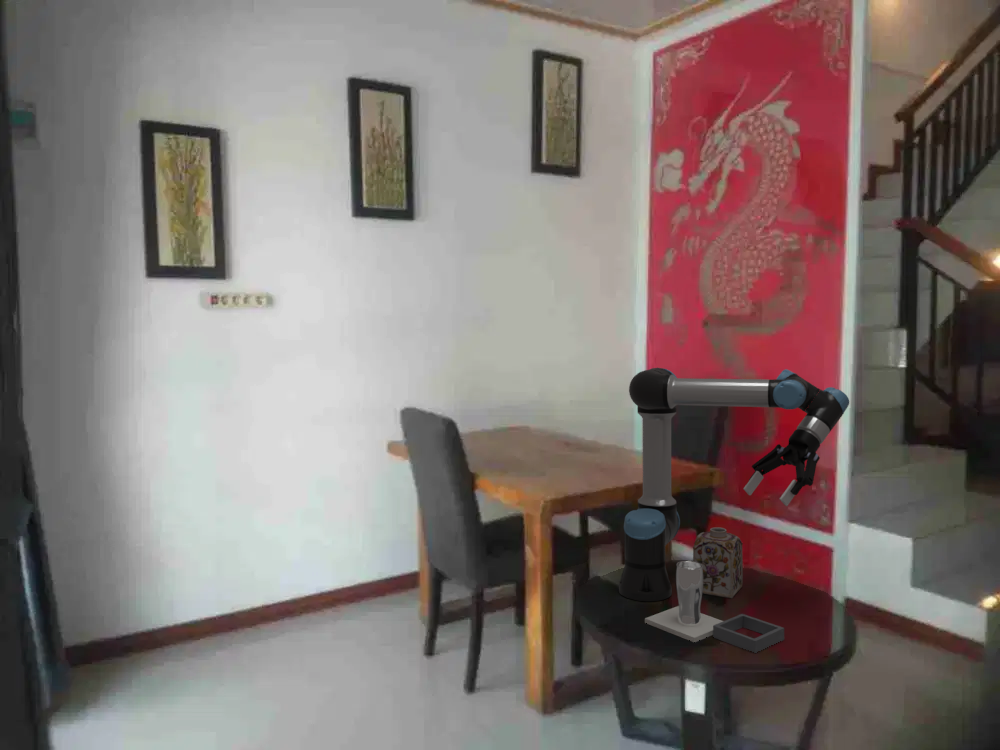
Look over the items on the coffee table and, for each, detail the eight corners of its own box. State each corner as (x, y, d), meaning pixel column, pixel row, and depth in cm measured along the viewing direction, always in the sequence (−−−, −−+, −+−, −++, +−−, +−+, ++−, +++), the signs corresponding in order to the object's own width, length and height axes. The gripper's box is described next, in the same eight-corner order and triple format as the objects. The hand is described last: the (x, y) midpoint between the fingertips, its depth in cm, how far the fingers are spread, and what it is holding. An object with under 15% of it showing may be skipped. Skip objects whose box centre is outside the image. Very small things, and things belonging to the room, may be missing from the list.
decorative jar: (743, 586, 220) (743, 527, 219) (733, 599, 210) (733, 536, 209) (703, 580, 227) (703, 522, 225) (691, 592, 217) (691, 531, 216)
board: (644, 622, 195) (644, 618, 195) (679, 609, 203) (679, 605, 203) (694, 642, 182) (694, 637, 182) (729, 627, 191) (729, 623, 191)
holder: (713, 637, 185) (713, 625, 185) (742, 625, 192) (742, 613, 192) (755, 653, 176) (755, 641, 175) (784, 639, 183) (784, 627, 183)
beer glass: (704, 627, 188) (704, 569, 187) (676, 626, 189) (676, 568, 188) (702, 617, 195) (702, 560, 194) (674, 615, 196) (674, 560, 195)
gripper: (853, 452, 192) (807, 516, 187) (782, 439, 215) (740, 496, 210) (837, 433, 189) (791, 497, 185) (767, 422, 212) (725, 479, 208)
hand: (764, 497), depth 197 cm, fingers open, 13 cm apart
